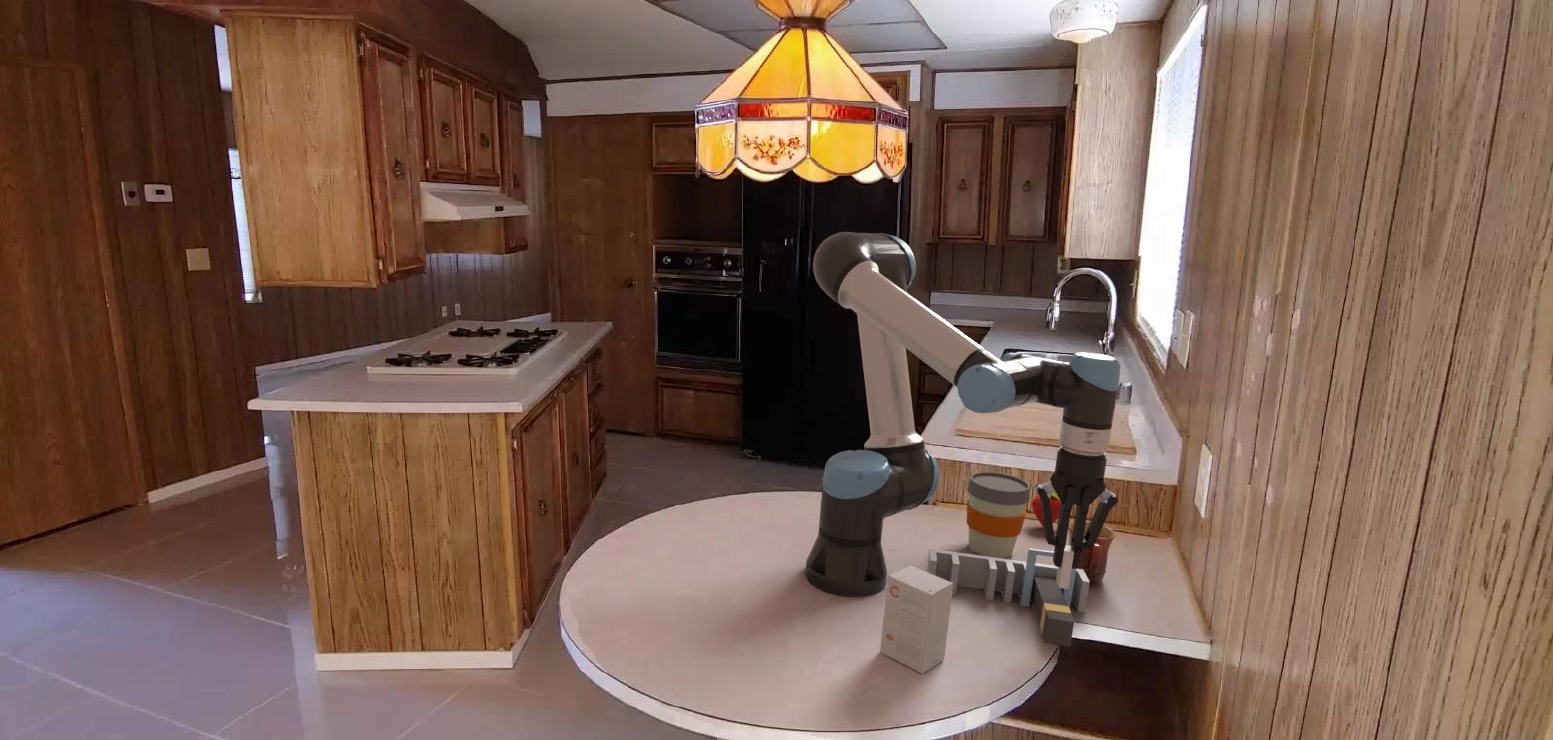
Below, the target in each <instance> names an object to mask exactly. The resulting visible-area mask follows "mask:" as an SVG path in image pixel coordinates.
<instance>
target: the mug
mask: <svg viewBox="0 0 1553 740" xmlns="http://www.w3.org/2000/svg"><path fill="white" fill-rule="evenodd" d="M1090 522H1091V521H1087V520H1086V525H1085V531H1084V536H1085V534H1086V531H1087V529H1088V527H1089V525H1090ZM1073 527H1074V520H1073V521H1071V522H1070V521H1069V527H1068V536H1069V538H1068V539H1069V540H1068V541H1069V542H1068V545H1069V546H1071V545H1072V544H1071V540H1072V533H1073ZM1116 536H1117V534H1116V532H1115V531H1114V530H1113V529H1111V527H1108V526H1107V525H1103V527H1102V529H1101V532H1100V534H1099V536H1098V538H1097V541H1096V543H1095V545H1094V547H1093V549H1091V550H1089V549H1084V550H1083V552H1082V553H1080V558H1079V564H1078V567H1077V569H1083V570H1084V572H1085V574H1086V576H1087V578H1088V580H1089V582H1090V584H1089V586H1095V585H1099V584H1101V583H1102V582H1103V580H1104V577H1105V574H1106V572H1107V571H1106V570H1107V566H1108V558H1109V557H1108V556H1109V551H1110V547H1111V545H1112V544H1113V542H1114V540H1115V538H1116Z"/></svg>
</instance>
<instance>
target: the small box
mask: <svg viewBox="0 0 1553 740" xmlns="http://www.w3.org/2000/svg"><path fill="white" fill-rule="evenodd" d="M952 590H953V583H952V582H949V581H947V580H944V579H942V578H940V577H937V576H935V575H932V574H930V573H927V571H925V570H923V569H920V568H917V567H915V566H914V565H908V566H906V567H904V568H902V569H900V570H898V571H896V572H893V573H891V574H890V575H888V576H887V585H886V592H885V593H886V594H885V602H884V612H883V613H884V614H883V620H882V629H881V638H880V649H879V653H881V654H883V655H885V656H887V657H889V658H891V659H893V660H895V661H896V662H897V663H898V662H899V663H900V664H902V665H904V666H906V667H907V668H908V667H909V668H910V669H912V670H915V671H916V672H918V673H920V675H921V674H922V675H923V674H924V673H926V672H928V671H929V670H930V669H932V668H934V667H935V666H936V665H938V664H939V663H941V662H942V661H944V660H945V656H946V654H945V653H946V648H947V646H946V645H947V639H948V631H949V624H950V623H949V620H950V614H951V608H952V607H951V606H952V597H953V594H952Z"/></svg>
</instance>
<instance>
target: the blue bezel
mask: <svg viewBox="0 0 1553 740" xmlns="http://www.w3.org/2000/svg"><path fill="white" fill-rule="evenodd" d="M1038 556H1042V557H1051V558H1053V556H1054V550H1053V551H1052V550H1051V551H1050V550H1044V549H1036V548H1030V547H1029V548H1028V551H1027V558H1026V562H1027V563H1026V570H1025V576H1024V583H1023V590H1022V596H1021V600H1020V603H1019V604H1020V606H1021V605H1025V606H1024V607H1028V606H1030V601H1031V589H1032V583H1033V576H1034V570H1035V563H1037V562H1036V561H1037V557H1038ZM1075 573H1076V569H1071V575H1070V582H1069V588H1068V589H1065V588H1064V590H1063V596H1064V598H1065V601H1066V603H1067V605H1068V606H1069V609H1070V607H1071V602H1072V601H1071V597H1072V591H1073V585H1074V579H1075ZM1070 610H1071V609H1070Z"/></svg>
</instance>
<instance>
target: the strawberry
mask: <svg viewBox="0 0 1553 740" xmlns="http://www.w3.org/2000/svg"><path fill="white" fill-rule="evenodd" d="M1054 491H1055V490H1054V488H1053V489H1052V490H1051V492H1052V495H1051V496H1050V497H1049V500H1050V504H1051V513H1052V522H1053V524H1054V523H1055V522H1057V521H1058V518H1059V511H1060V498H1059V496H1058V495H1057V493H1056V492H1055V493H1054ZM1031 508H1032V512H1033V514H1034V516H1035V517H1036V519H1037V521H1038V522H1039V523H1040V524H1041V526H1042V527H1043V518H1042V509H1041V501H1040V496H1039V495H1036V496H1035V497H1033V499H1032V502H1031Z"/></svg>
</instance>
